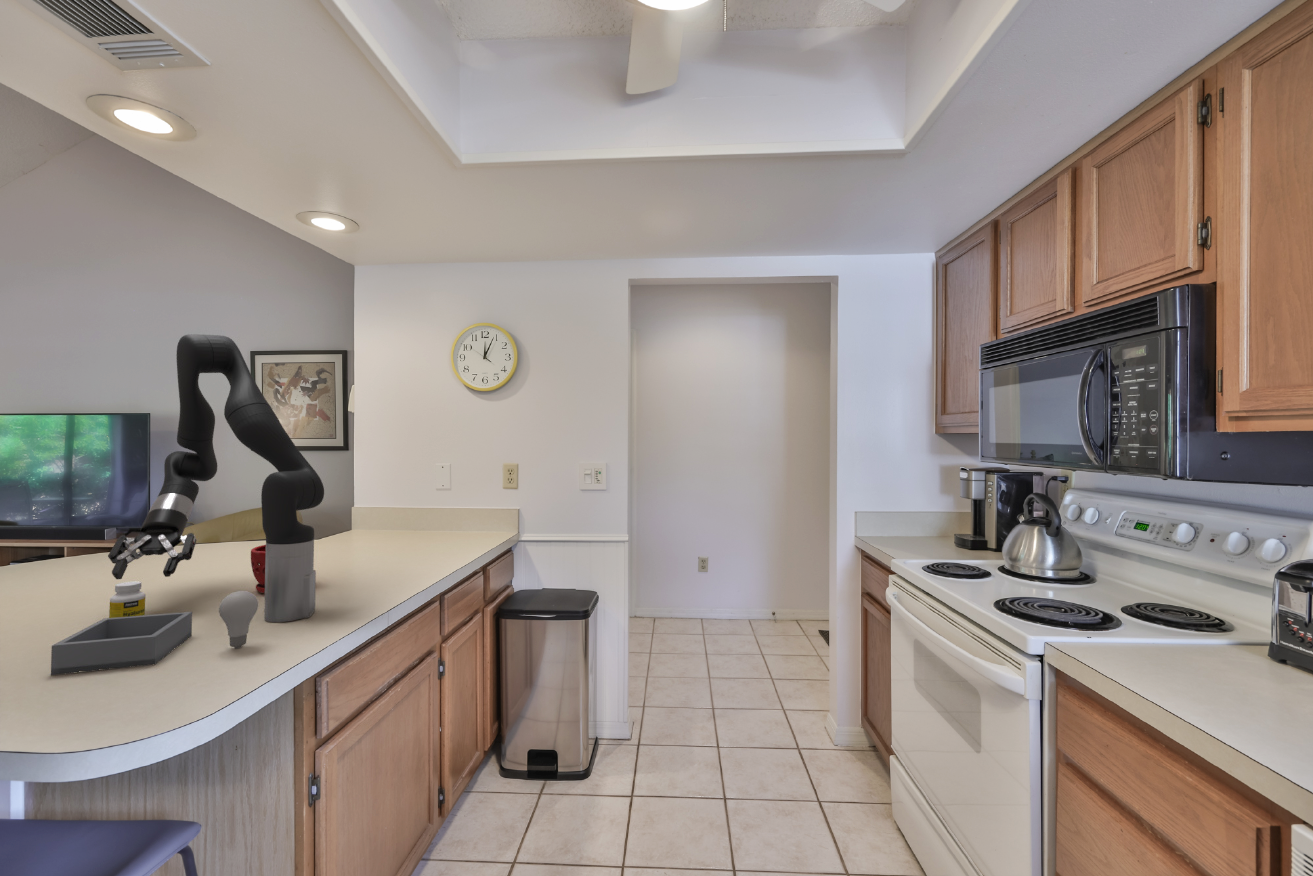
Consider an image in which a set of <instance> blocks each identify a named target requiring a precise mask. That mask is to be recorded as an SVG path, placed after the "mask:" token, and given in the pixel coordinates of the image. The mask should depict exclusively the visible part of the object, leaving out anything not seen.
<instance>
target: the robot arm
mask: <svg viewBox="0 0 1313 876" xmlns="http://www.w3.org/2000/svg"><path fill="white" fill-rule="evenodd" d="M242 354H243V353H242V352H241V351H240V348H239V347H238V345H237V344H236V343H235V341H234V340H233V339H232V338H231V337H229V336H225V335H219V334H216V335H215V334H197V333H195V334H192V333H191V334H189V333H188V334H184V335H183V336H181V337H180V339H179V341H178V342H177V346H176V371H177V372H176V375H177V387H178V396H179V398H178V399H179V419H178V427H177V435H176V442H177V444H178V445H179V446H180V447H182V448H184V449H186V450H189V451H183V450H175V451H173V452H171V453H169V454H168V455H167V456H166V458H165V459H164V467H163V468H164V470H163V471H164V478H163V480H164V481H163V484H162V486H161V489H160V491H159V493H158V495H157V498H156V499H155V501H153V503H152V505H151V507H150V509H149V511H148V513H147V515H146V517H145V520H144V521H143V523H142V525H141V527H140V531H139V533H138V534H137V535H136V536H135V537H127V536H126V535H124V534H122V535H119V537H118V538H117V539H116V542H115V543H114V545H113V546H112V548H111V550H110V551H109V554H108V555H107V557H108V559H109V560H110V562H111V563H112V564H114V566H113V568H112V570H111V574H112V576H113V577H114V578H115V580H122V579H123V576H124V575H125V572H126V571H127V568H128V566H129V564H130V563H132V562H133V561H134V560H138V559H140V558H142V557H143V556H154V555H155V556H162V555H164V554H166V553H167V554H168V556H169V557H168V559H167V561H166V563H165V565H164V568H163V572H162V574H163V575H164V577H166V578H169V577H171V575H173V574H174V573H175V572H176V570H177V567H178V565H179V563H180V562H181V561H184V560H185V561H189V560H191V559H192V556H193V553H194V550H195V547H196V544H197V538H196V535H194V533H193V532H189V533H187V535H183V533H184V531H185V528H186V526H187V524H188V522H189V520H190V519H191V514H192V512H193V511H192V510H193V507H194V505H195V504H194V503H195V501H196V499H197V496H198V494H199V492H200V491H199V490H200V486H199V485H198V484H197V482H209V481H210V480H211V479H213V478H214V477H215V476H216V474H217V472H218V460H217V457H216V456H217V455H216V454H215V448H214V442H213V440H214V432H215V426H216V416H215V412H214V410H213V408H212V406H211V405H210V403H209V401H208V400H207V399H206V397H205V395H203V393H202V391H201V389H200V386H199V377H200V374H223V375H224V376H225V378H226V380H227V381H228V384H229V386H230V387H229V389H230V390H229V393H228V396H227V398H226V402H225V405H224V409H223V411H224V412H223V413H224V414H223V415H224V418H225V420H226V423H227V424H228V426H229V428H230V429H231V431H232V432H233V434H234V435H235V437H236V439H238V441H239V442H241V444H243V445H244V447H246V448H247V449H249V450H251V451H252V452H254V453H255V454H257V455H258V456H260V457H261V458H262V459H264V460H266V461H267V462H269V464H271V465H272V466H273V467H274V468H275V469H276V470H277V471H276V472H272V473H270V474H269V475H268V476H266V478H265V479H264V481H263V483H262V488H261V496H260V497H261V498H260V499H261V518H262V519H261V520H262V521H261V522H262V525H261V526H262V529H263V532H264V535H265V545H266V560H265V593H264V608H263V609H264V610H263V612H264V613H263V614H264V616H263V618H264V620H265V621H266V622H270V623H283V622H291V621H296V620H301V619H307V618H310V617H311V616H312V614H313V613H314V612H315V610H316V584H317V583H316V581H317V580H316V579H317V572H316V570H315V568H314V565H315V563H314V562H315V558H314V557H315V528H314V527H313V526H311V525H307V524H303V523H301V522H300V521H299V520H298V516H297V511H303V510H309V509H313V508H316V507H318V506H319V505H320V504H322V502H323V500H324V495H325V487H324V484H323V482H322V479H321V478H320V476H319V474H318V472H317V471H316V470H315V469H314V468H313V467H312V465H311V464H310V463H309V462H308V460H307V459H306V458H305V457H304V455H303V454H302V453H301V452H300V450H299V449H298V447H297V446H296V445H295V443H294V442H293V440H292V439H291V437H290V436H289V434H288V433H287V431H286V430H285V428H284V426H283V424H282V423H281V422H280V419H279V417H278V416H277V413H276V412H274V410H273V408H272V407H271V405H270V403H269V402H268V400H267V398H265V396H264V394H263V392H262V391H261V389H260V388H259V386H258V385H257V384H258V383H256V381H255V379H254V377H253V375H252V373H251V371H250V369H249V367H248V365H247V363H246V360H245V358H244V357H243V355H242ZM190 451H192V452H190ZM195 481H197V482H195ZM181 543H183V546H182V550H181V552H177V551H176V550H175V547H177V546H178V545H180V544H181ZM137 550H139V551H138V552H137Z"/></svg>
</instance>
